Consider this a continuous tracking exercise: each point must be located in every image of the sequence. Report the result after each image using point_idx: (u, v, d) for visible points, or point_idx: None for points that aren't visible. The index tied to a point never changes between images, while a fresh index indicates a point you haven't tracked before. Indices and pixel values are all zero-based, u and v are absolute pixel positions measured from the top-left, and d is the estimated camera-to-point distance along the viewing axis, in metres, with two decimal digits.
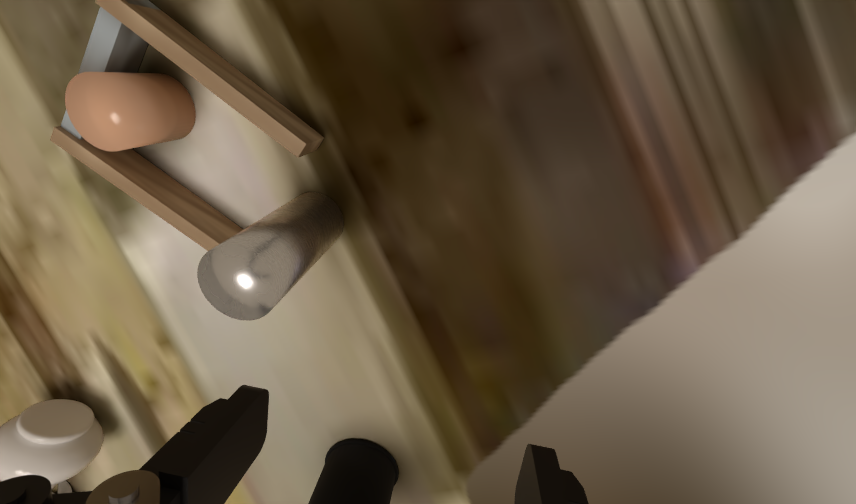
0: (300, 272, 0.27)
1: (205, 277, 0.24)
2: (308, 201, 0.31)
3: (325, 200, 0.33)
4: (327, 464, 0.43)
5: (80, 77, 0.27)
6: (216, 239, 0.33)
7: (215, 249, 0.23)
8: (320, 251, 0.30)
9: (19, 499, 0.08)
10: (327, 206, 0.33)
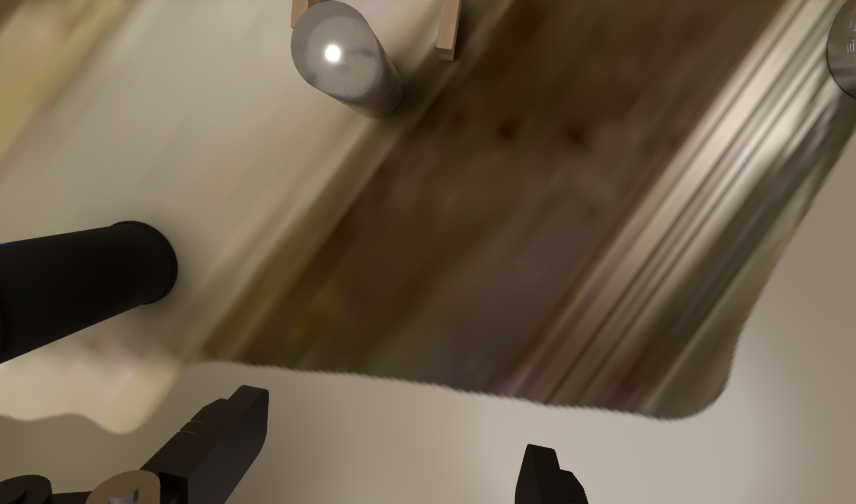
0: (357, 100, 0.27)
1: (319, 12, 0.23)
2: (397, 74, 0.32)
3: (401, 88, 0.34)
4: (120, 227, 0.37)
5: None
6: None
7: (355, 12, 0.23)
8: (369, 108, 0.30)
9: (19, 499, 0.08)
10: (399, 94, 0.34)
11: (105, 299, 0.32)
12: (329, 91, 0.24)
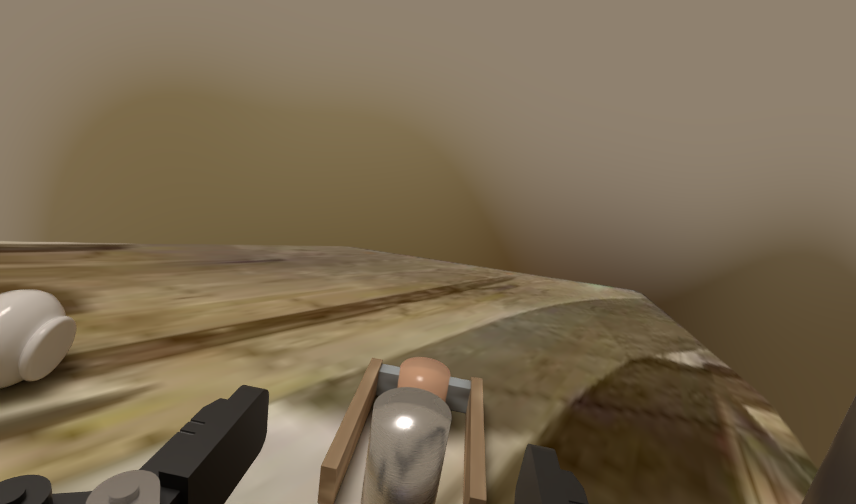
0: (414, 486, 0.24)
1: (402, 391, 0.27)
2: None
3: None
4: None
5: (439, 363, 0.42)
6: (344, 451, 0.33)
7: (434, 395, 0.27)
8: None
9: (19, 499, 0.08)
10: None
11: None
12: (407, 438, 0.23)
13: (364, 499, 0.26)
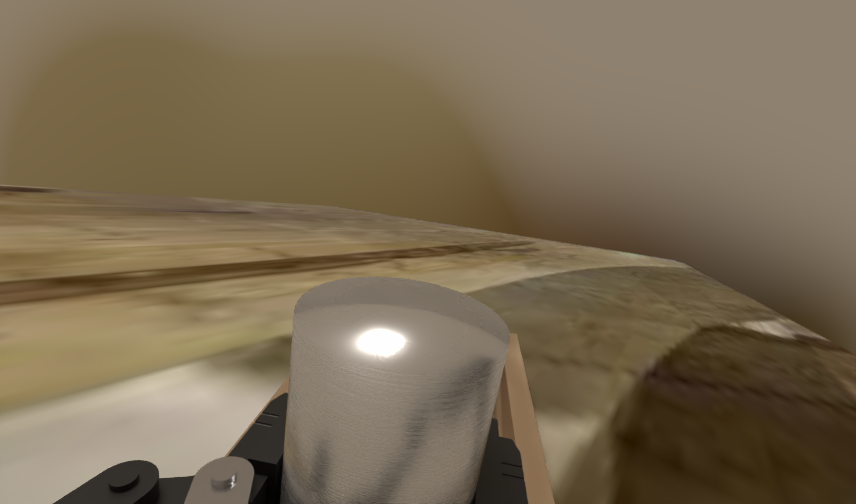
0: None
1: (382, 283, 0.11)
2: None
3: None
4: None
5: None
6: None
7: (457, 292, 0.11)
8: None
9: (134, 482, 0.08)
10: None
11: None
12: (386, 371, 0.07)
13: None
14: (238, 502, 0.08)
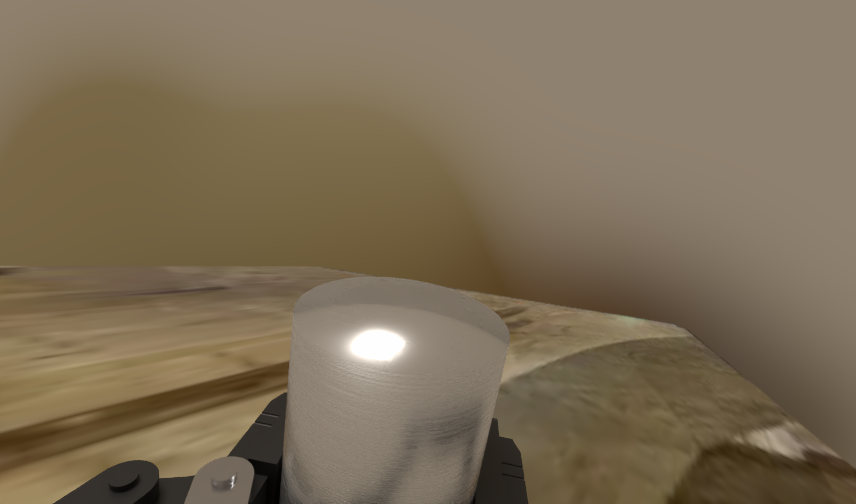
0: None
1: (381, 283, 0.11)
2: None
3: None
4: None
5: None
6: None
7: (457, 293, 0.11)
8: None
9: (134, 482, 0.08)
10: None
11: None
12: (386, 372, 0.07)
13: None
14: (238, 502, 0.08)
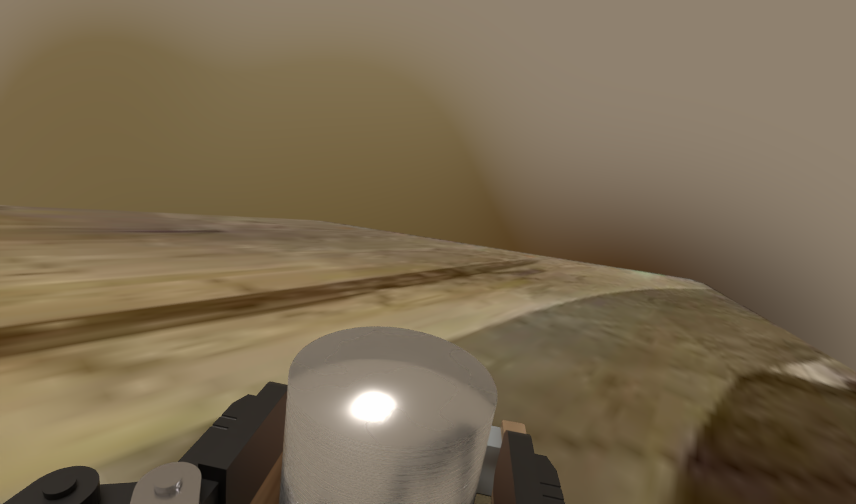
0: None
1: (375, 334, 0.11)
2: None
3: None
4: None
5: None
6: None
7: (448, 343, 0.12)
8: None
9: (70, 489, 0.08)
10: None
11: None
12: (375, 446, 0.07)
13: None
14: None
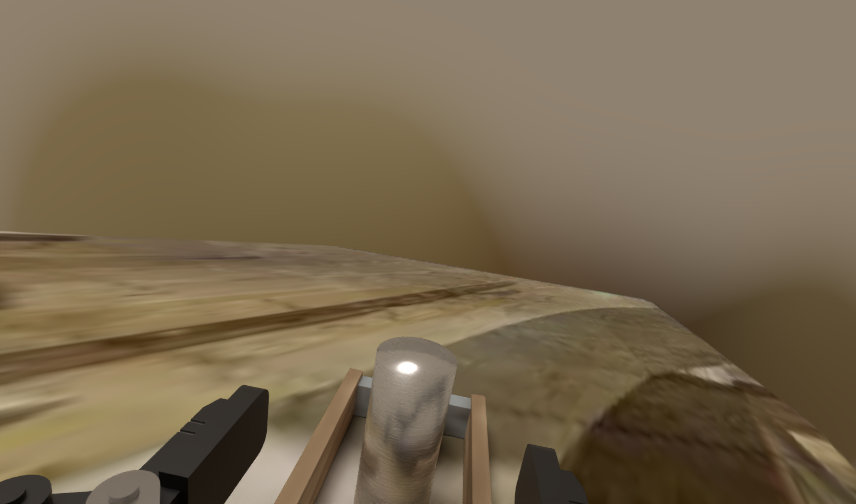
0: (418, 431, 0.23)
1: (406, 340, 0.26)
2: None
3: None
4: None
5: None
6: (302, 495, 0.24)
7: (438, 344, 0.26)
8: (408, 483, 0.24)
9: (19, 499, 0.08)
10: None
11: None
12: (413, 377, 0.22)
13: (365, 449, 0.25)
14: None
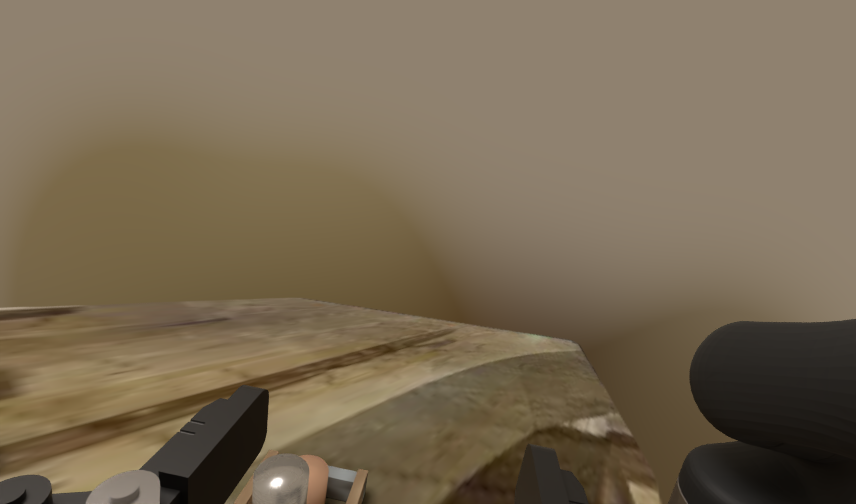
0: None
1: (280, 457, 0.39)
2: None
3: None
4: None
5: (322, 461, 0.47)
6: None
7: (302, 459, 0.39)
8: None
9: (19, 499, 0.08)
10: None
11: None
12: (270, 495, 0.35)
13: None
14: None
